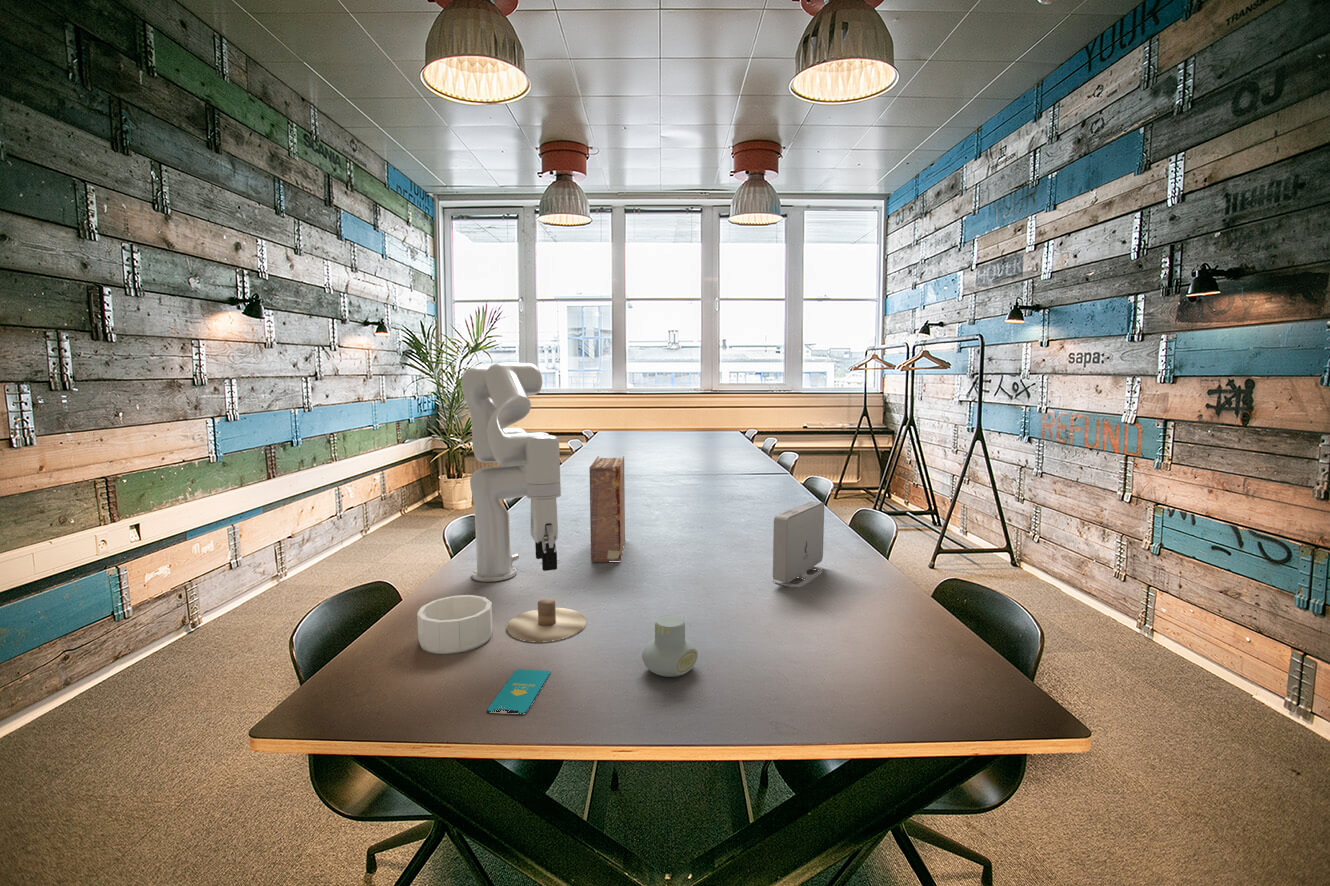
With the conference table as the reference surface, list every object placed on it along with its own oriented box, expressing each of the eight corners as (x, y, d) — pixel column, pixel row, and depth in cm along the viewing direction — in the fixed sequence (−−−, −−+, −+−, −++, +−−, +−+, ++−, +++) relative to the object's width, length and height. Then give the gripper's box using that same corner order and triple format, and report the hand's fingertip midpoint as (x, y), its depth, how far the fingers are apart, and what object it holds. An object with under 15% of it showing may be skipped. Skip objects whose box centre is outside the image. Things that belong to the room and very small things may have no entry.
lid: (535, 607, 150) (534, 584, 149) (599, 617, 143) (599, 593, 143) (490, 636, 133) (489, 611, 132) (561, 649, 127) (560, 622, 126)
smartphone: (551, 669, 116) (526, 712, 101) (552, 673, 116) (526, 717, 101) (515, 668, 117) (485, 711, 102) (516, 672, 117) (485, 715, 102)
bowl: (452, 620, 141) (450, 591, 140) (505, 629, 136) (504, 600, 135) (404, 647, 127) (402, 615, 126) (461, 658, 122) (460, 626, 121)
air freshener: (671, 653, 124) (671, 607, 123) (703, 665, 119) (703, 617, 117) (635, 674, 115) (635, 624, 114) (668, 688, 110) (668, 636, 109)
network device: (792, 592, 158) (794, 519, 156) (763, 585, 164) (764, 514, 161) (829, 568, 178) (831, 502, 176) (802, 562, 184) (804, 498, 182)
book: (599, 540, 209) (597, 456, 205) (625, 540, 209) (624, 455, 206) (590, 563, 184) (589, 467, 180) (620, 563, 184) (619, 467, 180)
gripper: (522, 485, 141) (524, 555, 143) (532, 497, 125) (535, 577, 127) (553, 483, 144) (555, 552, 145) (567, 495, 128) (570, 572, 129)
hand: (546, 563), depth 136 cm, fingers open, 9 cm apart
